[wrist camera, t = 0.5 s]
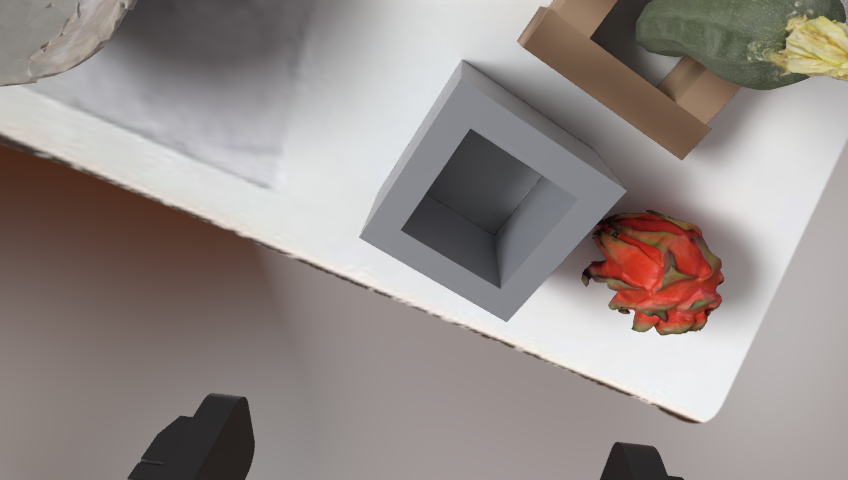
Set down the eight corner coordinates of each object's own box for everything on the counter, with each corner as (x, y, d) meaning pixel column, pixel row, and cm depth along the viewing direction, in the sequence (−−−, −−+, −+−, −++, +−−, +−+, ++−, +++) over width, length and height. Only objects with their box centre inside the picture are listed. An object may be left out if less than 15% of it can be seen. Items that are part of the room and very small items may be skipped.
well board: (644, -149, 28) (670, -169, 24) (801, -14, 30) (846, -14, 27) (517, 41, 33) (523, 47, 29) (660, 143, 35) (681, 160, 32)
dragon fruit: (672, 290, 43) (580, 197, 41) (772, 267, 36) (666, 153, 34) (642, 367, 39) (539, 267, 37) (749, 358, 31) (626, 233, 30)
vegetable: (604, 17, 32) (778, 53, 14) (660, -40, 30) (938, -78, 12) (646, 64, 33) (855, 154, 15) (702, 12, 31) (1011, 45, 14)
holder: (462, 59, 34) (461, 78, 27) (595, 150, 36) (627, 190, 29) (378, 192, 39) (359, 237, 32) (499, 264, 41) (506, 322, 34)
